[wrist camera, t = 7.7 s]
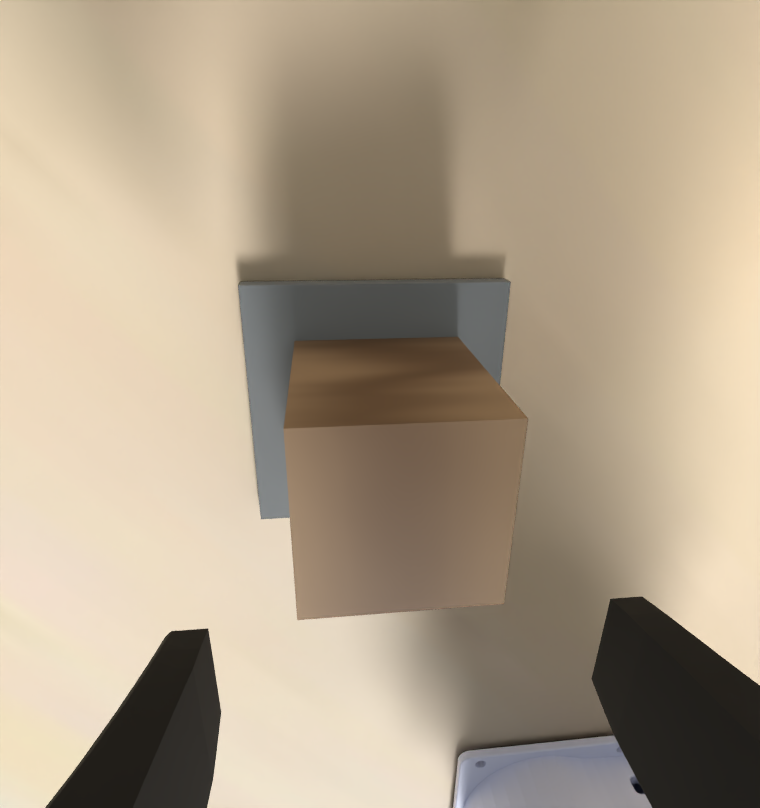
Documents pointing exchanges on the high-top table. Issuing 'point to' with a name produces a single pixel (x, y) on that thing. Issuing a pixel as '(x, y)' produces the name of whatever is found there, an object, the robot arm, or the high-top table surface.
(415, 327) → the slate coaster
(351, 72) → the high-top table surface
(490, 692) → the high-top table surface
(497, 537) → the walnut block
